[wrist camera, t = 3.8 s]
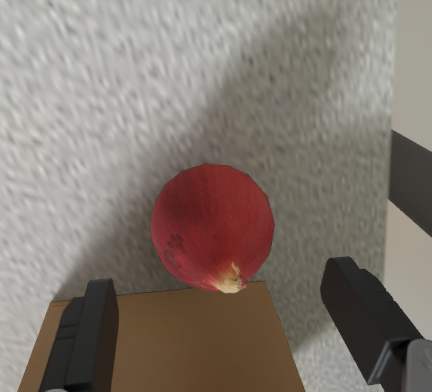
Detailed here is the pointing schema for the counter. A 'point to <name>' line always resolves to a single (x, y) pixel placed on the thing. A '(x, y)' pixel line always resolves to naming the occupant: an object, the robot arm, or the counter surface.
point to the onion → (212, 227)
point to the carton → (188, 343)
